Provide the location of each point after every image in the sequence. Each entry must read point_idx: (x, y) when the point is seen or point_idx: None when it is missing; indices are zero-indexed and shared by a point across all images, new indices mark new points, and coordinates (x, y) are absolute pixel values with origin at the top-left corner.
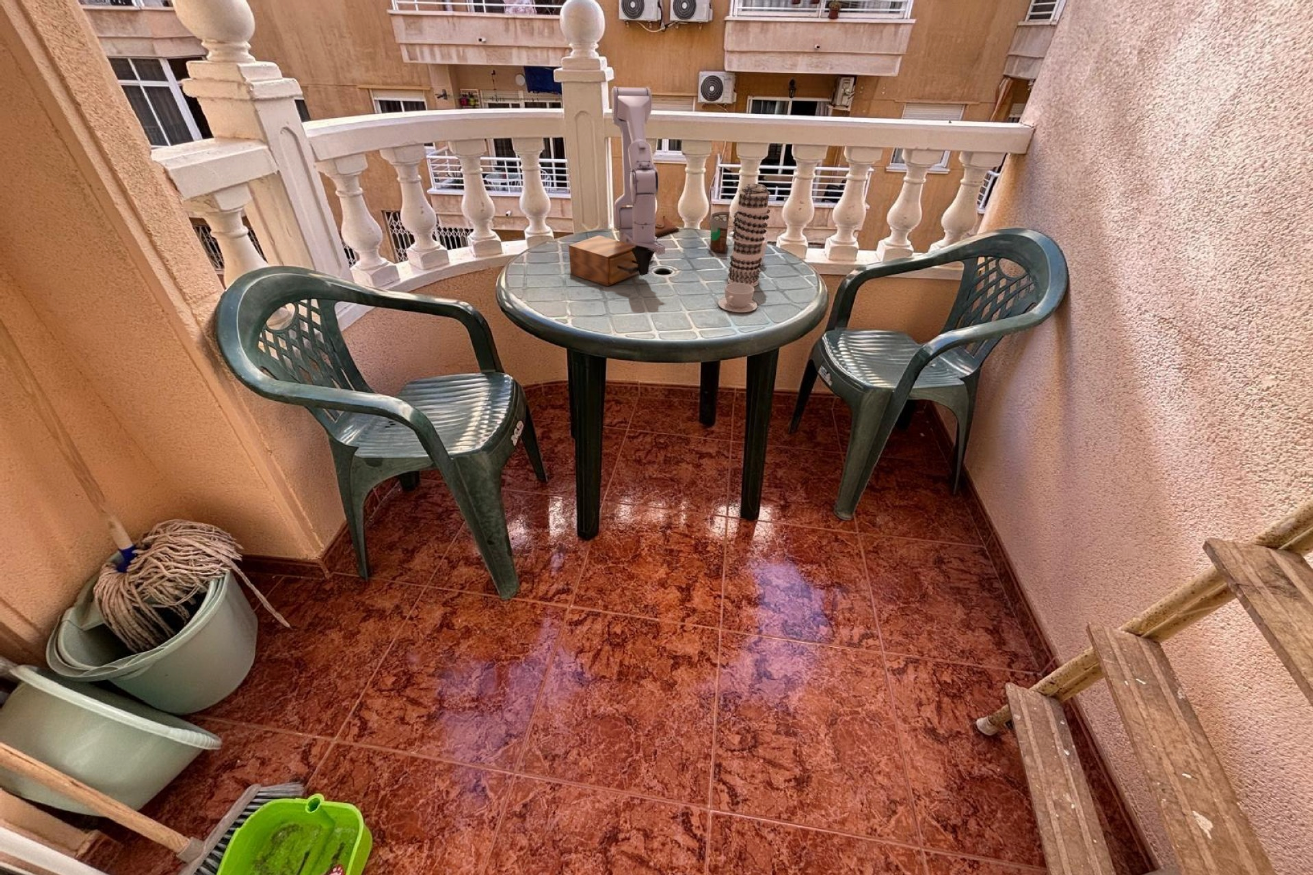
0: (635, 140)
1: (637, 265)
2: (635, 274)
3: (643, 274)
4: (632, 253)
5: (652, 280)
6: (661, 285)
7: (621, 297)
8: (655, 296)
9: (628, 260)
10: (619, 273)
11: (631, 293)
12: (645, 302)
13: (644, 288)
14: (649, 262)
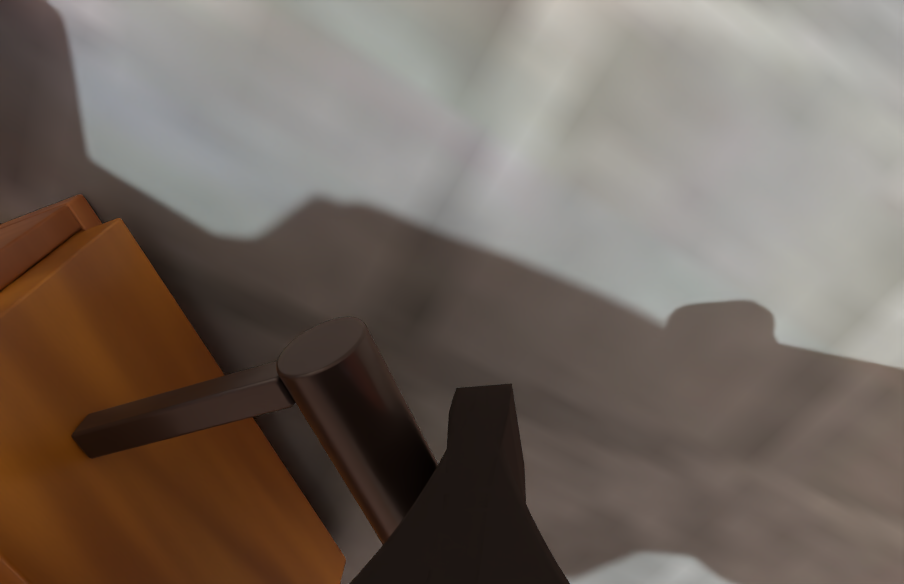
0: None
1: (66, 280)
2: (91, 210)
3: (519, 450)
4: (8, 536)
5: (354, 121)
6: (575, 111)
7: (611, 581)
8: (812, 357)
9: (126, 531)
10: (275, 551)
11: (583, 489)
12: (855, 498)
13: (542, 336)
14: (525, 504)
